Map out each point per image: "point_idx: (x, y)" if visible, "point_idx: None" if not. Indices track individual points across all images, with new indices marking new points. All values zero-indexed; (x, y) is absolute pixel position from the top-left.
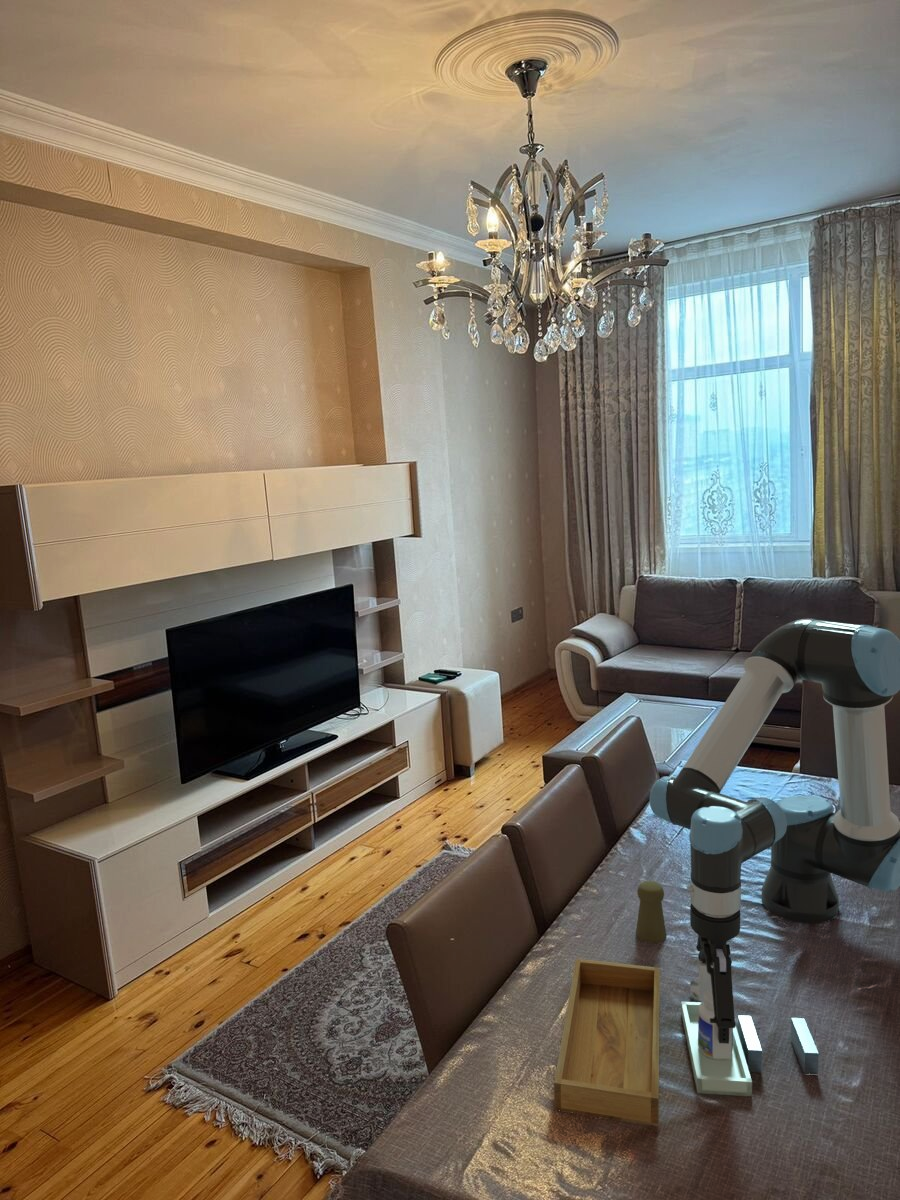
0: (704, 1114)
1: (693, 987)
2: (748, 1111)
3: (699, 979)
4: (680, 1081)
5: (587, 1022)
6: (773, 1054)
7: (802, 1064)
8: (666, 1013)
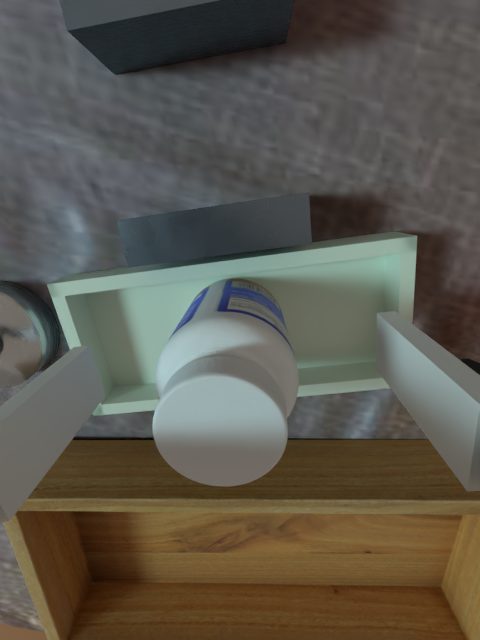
0: (459, 350)
1: (7, 379)
2: (450, 244)
3: (59, 454)
4: (352, 397)
5: (214, 566)
6: (204, 147)
7: (261, 36)
8: (119, 422)
